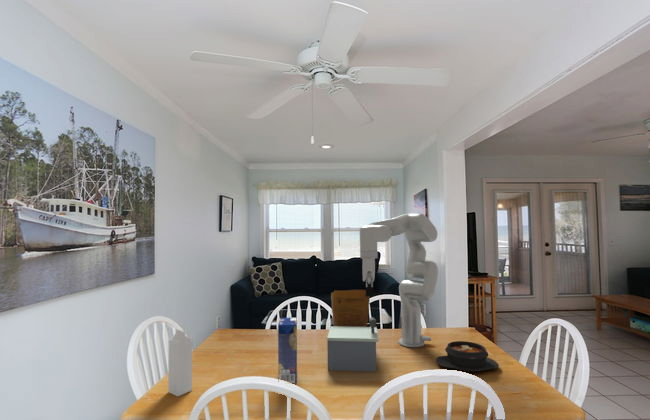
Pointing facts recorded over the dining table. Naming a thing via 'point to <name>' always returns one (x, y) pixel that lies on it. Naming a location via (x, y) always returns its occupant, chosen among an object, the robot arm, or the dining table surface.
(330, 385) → the dining table surface
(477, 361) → the casserole
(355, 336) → the lid
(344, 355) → the storage box
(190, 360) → the milk
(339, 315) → the pancake mix bag
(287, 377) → the beverage box
